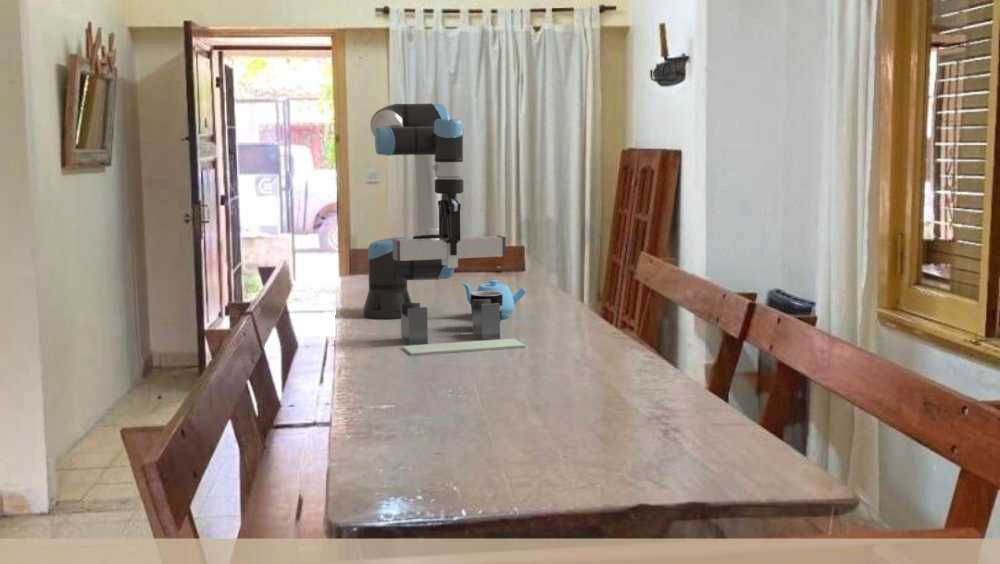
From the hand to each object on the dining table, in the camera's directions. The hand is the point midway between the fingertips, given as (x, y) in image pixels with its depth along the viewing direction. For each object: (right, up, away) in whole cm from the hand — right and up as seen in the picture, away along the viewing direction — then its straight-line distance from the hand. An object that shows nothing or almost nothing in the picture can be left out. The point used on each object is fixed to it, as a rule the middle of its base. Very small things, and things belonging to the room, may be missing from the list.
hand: (449, 265), depth 267 cm
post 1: (-9, -20, -1) cm, 22 cm away
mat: (+4, -21, -10) cm, 24 cm away
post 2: (+10, -19, +6) cm, 22 cm away
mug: (+10, -18, +18) cm, 27 cm away
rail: (0, +2, 0) cm, 2 cm away
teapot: (+12, -15, +35) cm, 39 cm away
